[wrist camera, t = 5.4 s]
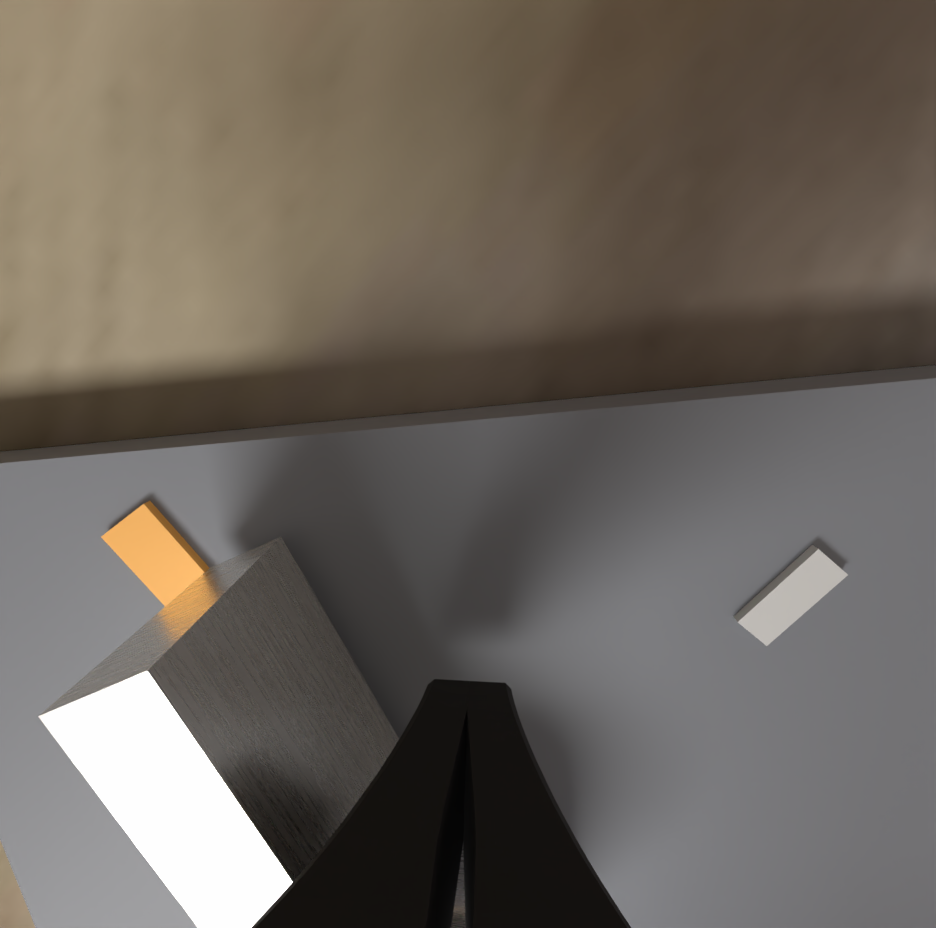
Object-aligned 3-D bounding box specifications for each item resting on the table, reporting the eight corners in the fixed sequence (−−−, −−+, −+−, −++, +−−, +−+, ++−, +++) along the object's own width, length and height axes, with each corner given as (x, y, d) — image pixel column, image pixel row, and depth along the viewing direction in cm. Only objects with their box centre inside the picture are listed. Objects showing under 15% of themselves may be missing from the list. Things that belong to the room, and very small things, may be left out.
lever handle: (603, 950, 12) (654, 1243, 8) (410, 1004, 13) (375, 1295, 9) (361, 499, 10) (272, 618, 6) (140, 597, 11) (-71, 761, 7)
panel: (867, 1107, 16) (910, 1196, 14) (165, 1106, 18) (131, 1186, 16) (963, 362, 11) (1049, 369, 9) (-70, 458, 12) (-158, 479, 11)
